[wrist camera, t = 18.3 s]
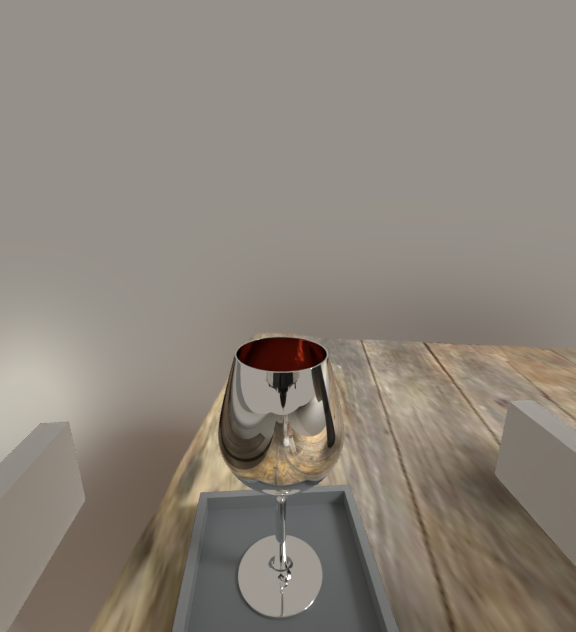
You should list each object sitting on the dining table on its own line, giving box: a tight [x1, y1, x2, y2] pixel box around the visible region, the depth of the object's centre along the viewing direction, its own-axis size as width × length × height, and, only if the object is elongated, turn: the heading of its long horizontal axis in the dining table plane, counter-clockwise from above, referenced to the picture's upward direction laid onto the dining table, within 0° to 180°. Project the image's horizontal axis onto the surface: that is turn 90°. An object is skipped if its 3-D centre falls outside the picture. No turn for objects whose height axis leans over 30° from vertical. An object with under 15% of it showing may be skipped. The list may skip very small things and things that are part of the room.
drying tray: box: [172, 485, 399, 632], centre depth 27 cm, size 14×14×2 cm
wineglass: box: [218, 337, 344, 619], centre depth 24 cm, size 8×8×18 cm
